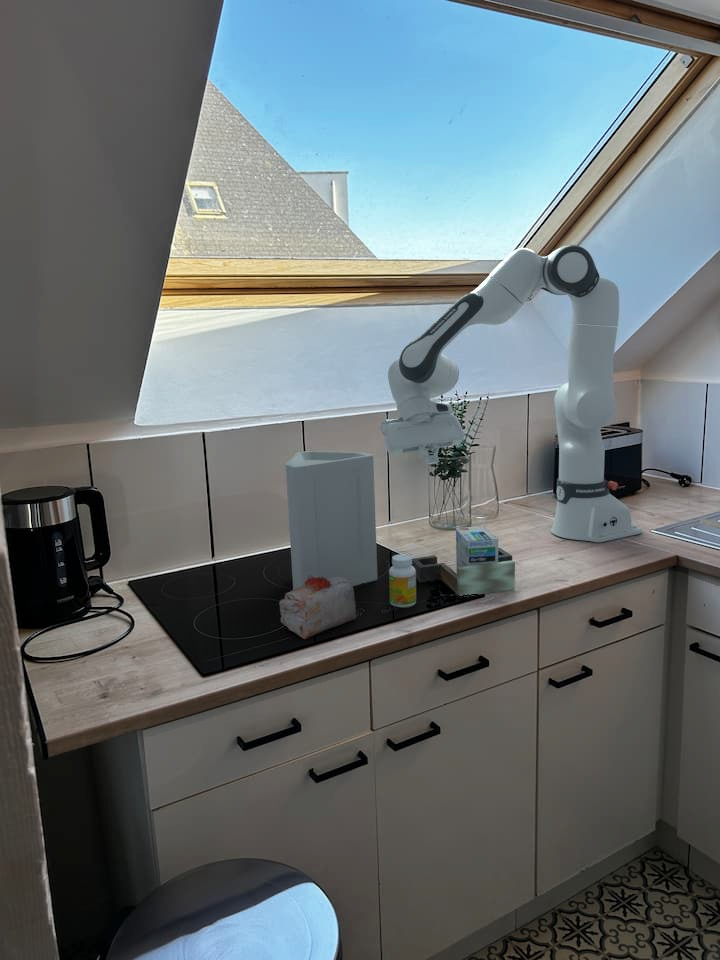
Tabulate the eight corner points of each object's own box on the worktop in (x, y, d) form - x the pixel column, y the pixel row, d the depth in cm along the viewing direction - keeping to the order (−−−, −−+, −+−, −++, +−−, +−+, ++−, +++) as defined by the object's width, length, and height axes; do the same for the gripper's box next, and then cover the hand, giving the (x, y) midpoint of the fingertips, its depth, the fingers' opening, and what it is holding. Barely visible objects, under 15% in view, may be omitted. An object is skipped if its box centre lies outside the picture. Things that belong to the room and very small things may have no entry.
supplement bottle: (384, 603, 146) (382, 558, 144) (401, 595, 150) (400, 551, 148) (404, 610, 143) (403, 563, 141) (421, 602, 147) (420, 556, 144)
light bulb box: (499, 587, 153) (499, 538, 151) (468, 590, 152) (468, 541, 150) (484, 570, 163) (484, 524, 161) (455, 573, 162) (454, 527, 160)
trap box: (498, 561, 169) (499, 536, 167) (534, 586, 152) (535, 559, 151) (410, 572, 163) (409, 547, 162) (438, 600, 147) (437, 572, 146)
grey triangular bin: (344, 562, 173) (339, 446, 166) (379, 579, 160) (374, 455, 154) (272, 579, 163) (263, 457, 157) (303, 599, 150) (295, 467, 144)
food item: (303, 644, 130) (300, 592, 128) (277, 631, 136) (274, 581, 133) (360, 621, 138) (358, 573, 136) (334, 610, 144) (332, 563, 142)
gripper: (381, 414, 179) (396, 463, 174) (456, 404, 185) (473, 451, 179) (376, 427, 185) (390, 475, 179) (449, 417, 190) (466, 463, 185)
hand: (433, 463), depth 179 cm, fingers closed
